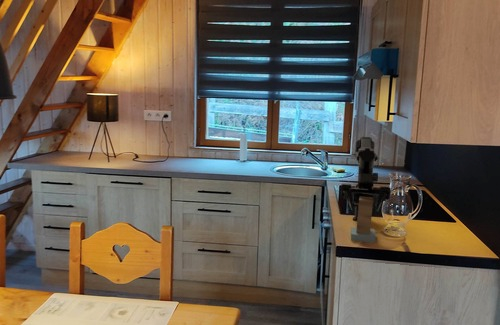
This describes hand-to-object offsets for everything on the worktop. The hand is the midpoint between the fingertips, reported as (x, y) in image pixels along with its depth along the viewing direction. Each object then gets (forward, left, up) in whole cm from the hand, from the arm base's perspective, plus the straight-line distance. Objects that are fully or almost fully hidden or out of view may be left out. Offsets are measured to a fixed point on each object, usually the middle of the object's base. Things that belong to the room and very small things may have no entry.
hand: (364, 210), depth 170 cm
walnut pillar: (-1, 0, -8) cm, 8 cm away
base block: (-1, 0, -12) cm, 12 cm away
